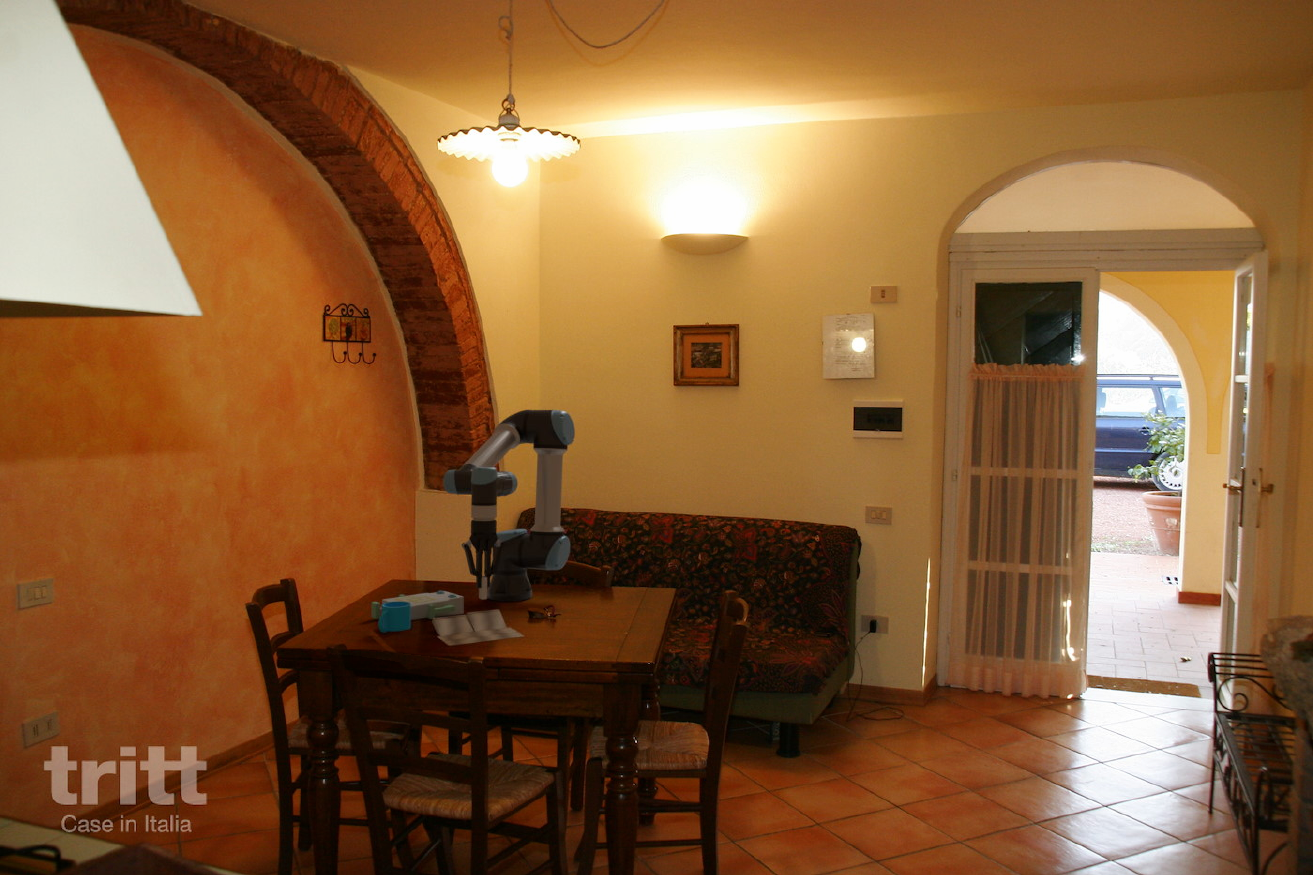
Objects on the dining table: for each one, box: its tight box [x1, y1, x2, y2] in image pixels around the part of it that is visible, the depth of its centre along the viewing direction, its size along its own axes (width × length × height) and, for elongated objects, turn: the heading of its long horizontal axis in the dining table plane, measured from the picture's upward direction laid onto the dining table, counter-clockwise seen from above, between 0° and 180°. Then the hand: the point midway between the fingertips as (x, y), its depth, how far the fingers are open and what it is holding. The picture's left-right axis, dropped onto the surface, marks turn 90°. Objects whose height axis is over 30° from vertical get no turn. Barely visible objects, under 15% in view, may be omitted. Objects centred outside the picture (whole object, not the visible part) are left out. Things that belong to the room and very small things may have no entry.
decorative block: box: [370, 590, 465, 621], centre depth 294 cm, size 26×6×20 cm
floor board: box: [437, 627, 525, 646], centre depth 267 cm, size 22×11×1 cm, turn 120°
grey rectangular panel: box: [466, 609, 508, 632], centre depth 278 cm, size 10×8×1 cm
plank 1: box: [432, 614, 475, 636], centre depth 272 cm, size 10×8×1 cm
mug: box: [377, 601, 412, 634], centre depth 273 cm, size 12×8×8 cm
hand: (482, 598), depth 278 cm, fingers closed
